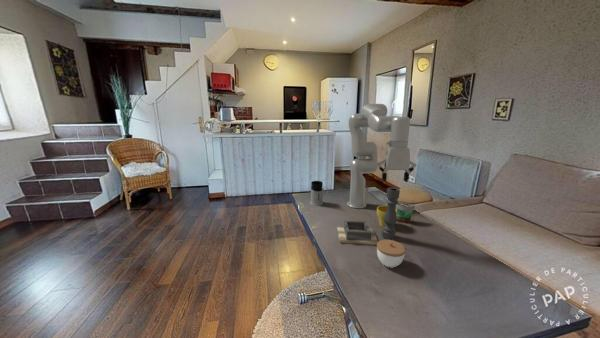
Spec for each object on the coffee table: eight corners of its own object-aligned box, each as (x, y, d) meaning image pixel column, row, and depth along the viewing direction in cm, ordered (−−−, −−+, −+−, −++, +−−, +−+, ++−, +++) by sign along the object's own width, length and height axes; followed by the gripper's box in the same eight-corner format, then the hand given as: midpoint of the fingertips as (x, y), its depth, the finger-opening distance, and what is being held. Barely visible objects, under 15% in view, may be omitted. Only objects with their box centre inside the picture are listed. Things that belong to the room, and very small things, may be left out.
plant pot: (374, 220, 131) (375, 204, 129) (393, 222, 129) (395, 206, 127) (376, 229, 121) (378, 212, 119) (397, 231, 119) (399, 213, 117)
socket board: (337, 229, 121) (337, 219, 119) (371, 230, 120) (372, 221, 118) (339, 242, 108) (340, 232, 107) (378, 244, 107) (379, 234, 106)
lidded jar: (404, 274, 87) (407, 253, 85) (375, 268, 91) (376, 247, 88) (402, 258, 97) (404, 238, 95) (376, 253, 100) (377, 233, 98)
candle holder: (394, 234, 116) (399, 188, 110) (395, 241, 110) (401, 192, 104) (381, 232, 118) (386, 186, 112) (381, 238, 112) (386, 190, 106)
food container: (390, 221, 130) (391, 205, 127) (390, 217, 135) (392, 201, 133) (414, 225, 125) (416, 208, 123) (413, 220, 131) (415, 204, 128)
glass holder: (316, 199, 162) (316, 179, 158) (331, 205, 152) (332, 184, 148) (307, 203, 156) (307, 182, 152) (322, 209, 146) (323, 187, 142)
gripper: (381, 145, 99) (378, 183, 103) (421, 145, 98) (417, 183, 102) (376, 143, 107) (374, 178, 111) (414, 143, 106) (410, 179, 109)
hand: (394, 181), depth 106 cm, fingers open, 9 cm apart
